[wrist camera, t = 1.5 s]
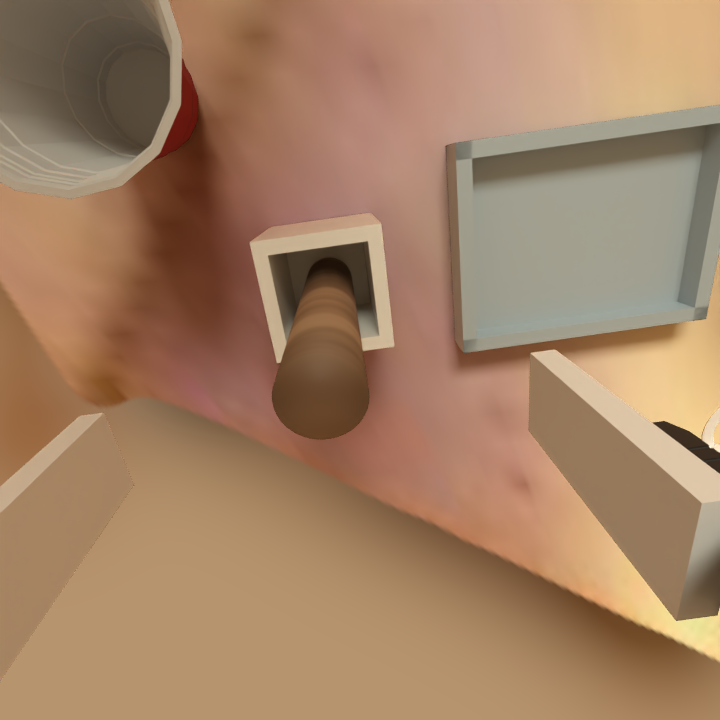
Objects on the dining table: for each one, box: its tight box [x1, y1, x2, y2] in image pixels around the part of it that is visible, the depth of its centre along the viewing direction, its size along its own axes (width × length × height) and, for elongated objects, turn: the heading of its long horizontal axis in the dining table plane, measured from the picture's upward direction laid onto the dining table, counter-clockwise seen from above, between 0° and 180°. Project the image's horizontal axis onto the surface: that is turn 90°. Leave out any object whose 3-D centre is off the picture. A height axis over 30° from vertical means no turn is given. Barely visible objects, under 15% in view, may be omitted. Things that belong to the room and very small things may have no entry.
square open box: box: [249, 213, 394, 363], centre depth 27 cm, size 7×7×8 cm
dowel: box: [272, 257, 369, 439], centre depth 22 cm, size 3×3×18 cm
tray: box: [446, 105, 720, 353], centre depth 30 cm, size 14×18×2 cm
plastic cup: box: [0, 0, 198, 199], centre depth 21 cm, size 11×11×12 cm
